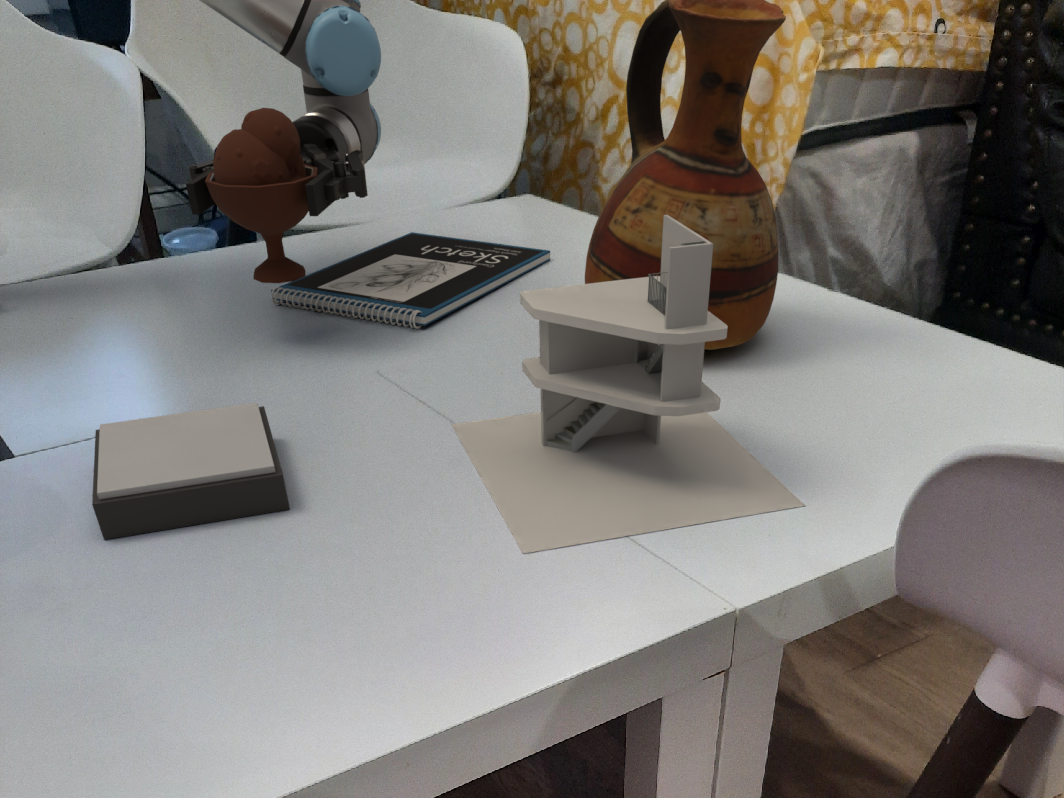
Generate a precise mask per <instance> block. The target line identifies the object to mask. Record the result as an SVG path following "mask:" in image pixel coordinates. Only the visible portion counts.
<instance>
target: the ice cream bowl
mask: <svg viewBox="0 0 1064 798" xmlns="http://www.w3.org/2000/svg"><path fill="white" fill-rule="evenodd" d="M292 122H293V121H292V120H291V119H290V118H289V117H288V116H287V115H286V114H285V113H283V112H282V111H280V110H277V109H275V108H271V107H260V108H258V109H254V110H251V111H249V112H247V113H246V114H245V116H244V117H243V121H242V123H241V127H240V128H239V129H237V128H236V129H232V130H231V131H230V132H228V133H226V134H224V135H223V137H222V138H221V139H220V141H219V142H218V144H217V145H216V147H215V148H214V152H213V159H212V160H213V168H214V171H213V172H210V173H209V174H208V176H207V178H206V180H205V182H206V185H207V187H208V190H209V192H210V195H211V197H212V199H213V200H214V202H215V203H216V204H215V205H216V207H217V208H218V210H219V211H220V212H221V213H223V215H225V216H226V217H227V218H228V219H230V220H231V221H232V222H233V223H234V224H236V225H238V226H240V227H241V228H243V229H245V230H247V231H251V232H254V233H256V234H260V236H261V237H262V239H263V240H264V243H265V246H266V253H267V258H265V260H263V261H262V262H261V263H260V264H259V265H258V266H256V267H255V268H254V271H253V278H252V280H254V281H257V282H259V283H262V284H283V283H284V284H285V283H289V282H291V281H295V280H298V279H300V278H302V277H304V276H306V275H307V274H306V272H307V271H306V269H305V267H304V265H303V264H301V263H299V262H297V261H295V260H293V259H291V258H290V257H287V256H286V253H285V249H284V243H283V238H284V233H286V232H287V231H289V230H290V229H293V228H295V227H296V226H298V225H299V223H300V222H302V221H303V220H304V219H305V218H306V216H307V215H308V214H309V208H308V202H307V195H306V188H305V185H306V184H307V183H309V182H310V181H311V180H312V179H314V178H315V177H317V167H313V166H309V165H305V164H304V162H303V159H302V157H301V155H300V138H299V135H298V132H297V129H296V127H295V126H294V124H293V123H292Z"/></svg>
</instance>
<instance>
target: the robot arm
mask: <svg viewBox="0 0 1064 798" xmlns="http://www.w3.org/2000/svg"><path fill="white" fill-rule="evenodd" d="M199 2H201V3H202V4H204V5H206V6H207V7H208V8H210V9H211V10H213V11H214V12H216V13H217V14H219V15H221V16H222V17H223V18H225V19H226V20H228V21H229V22H231V23H233V24H234V25H235V26H237V27H239V28H240V29H241V30H243V31H245V32H246V33H247V34H250V36H252V37H253V38H255V39H257V40H258V41H260V42H261V43H262V44H264V45H265V46H267V47H269V49H271V50H273V51H275V52H276V53H277V54H279V55H280V56H281V57H283V58H284V59H285V60H287V61H288V62H290V63H291V64H293V65H294V66H296V67H297V68H299V70H300V73H301V79H302V90H303V96H304V97H303V98H304V103H305V111H306V113H304V114H302V115H301V116H300V117H298V118H297V119H294V120H293V121H292V123H293V124H294V126H295V127H296V129H297V132H298V135H299V138H300V155H301V157H302V159H303V162H304V164H305V165H309V166H313V167H317V177H315V178H314V179H312V180H311V181H310V182H309V183H307V184H306V185H305V188H306V195H307V202H308V208H309V212H308V215H309V217H319V215H321V214H322V213H323V212H324V211H325V210H326V209H328V207H330V206H331V205H332V204H333V203H335V201H336V202H337V201H339V200H340V199H341V200H345V199H347V198H349V197H350V195H349V193H354V195H355V197H357V198H359V199H363V198H366V197H368V195H369V194H368V186H367V185H368V184H367V177H366V166H365V165H366V164H367V163H368V162H369V161H371V159H372V158H373V156H374V154H375V152H376V150H377V149H378V147H379V144H380V142H381V138H382V125H381V120H380V117H379V114H378V112H377V111H376V109H375V107H374V105H373V104H372V103H371V100H370V92H369V88H370V87H371V86H372V85H373V84H374V82H375V81H376V79H377V78H378V75H379V72H380V69H381V63H382V49H381V44H380V40H379V37H378V34H377V31H376V28H375V27H374V26H373V24H372V23H371V21H370V19H369V18H368V17H366V15H364V14H362V12H361V8H362V4H361V2H360V0H199ZM213 160H214V159H210V160H208V161H204V162H201V163H197V164H191V165H189V166H188V167H187V169H188V173H189V174H188V175H189V178H190V180H189V181H188V182H186V183H185V186H186V191H187V196H188V201H189V206H190V210H191V214H192V215H201V214H204V212H206V211H207V210H209V209H211V208H212V207H213V206H215V205H216V203H215V202H214V200H213V199H212V197H211V195H210V192H209V190H208V187H207V185H206V182H205V180H206V178H207V176H208V174H209V173H210V172H213V171H214V168H213Z"/></svg>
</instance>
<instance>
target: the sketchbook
mask: <svg viewBox="0 0 1064 798" xmlns="http://www.w3.org/2000/svg"><path fill="white" fill-rule="evenodd" d="M549 261H551V250H550V249H549V250H548V249H540V248H533V247H527V246H518V245H511V244H503V243H495V242H487V241H481V240H474V239H465V238H458V237H451V236H443V235H436V234H427V233H420V232H414V231H413V232H408V233H406V234H404V235H401V236H399V237H397V238H394V239H392V240H388V241H386V242H384V243H382V244H379V245H377V246H374V247H373V248H370V249H367V250H365V251H362V252H360V253H357V254H354V255H353V256H350V257H347V258H345V259H343V260H340V261H338V262H335V263H333V264H330V265H328V266H326V267H324V268H320V269H318V270H315V271H313V272H311V273H309V274H305V276H304V277H302V278H300V279H298V280H295V281H290V282H285V283H284V284H281V285H279V286H275V287H273V288H272V289H271V290H270V296H271V297H270V298H271V301H272V303H273V304H274V305H278V306H279V305H282V306H283V307H290V308H291V307H293V308H295V309H298V308H299V309H302V310H303V309H305V310H309V311H310V310H311V311H313V312H315V311H317V312H319V313H321V312H323V313H324V314H327V313H329V314H330V315H333V314H334V315H336V316H339V315H341V316H342V317H345V316H346V317H348V318H352V317H353V318H354V319H358V318H359V319H360V320H364V319H365V320H366V321H372V322H379V324H380V323H383V322H384V323H385V324H391V325H393V326H395V325H397V326H399V327H401V326H402V325H403V327H405V328H408V327H410V329H415V330H419V329H420V328H422V327H426V326H428V325H430V324H431V323H433V322H435V321H436V320H439V319H441V318H443V317H445V316H447V315H449V314H451V313H452V312H454V311H456V310H459V309H460V308H461V307H464V306H465V305H467V304H470V303H472V302H473V301H475V300H478V299H479V298H480V297H482V296H484V295H486V294H488V293H490V292H492V291H494V290H495V289H498V288H499V287H502V286H503V285H505V284H507V283H509V282H511V281H513V280H515V279H517V278H519V277H520V276H522V275H524V274H527V273H528V272H530V271H532V270H533V269H535V268H537V267H539V266H541V265H543V264H545V263H547V262H549Z"/></svg>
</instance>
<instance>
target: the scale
mask: <svg viewBox="0 0 1064 798" xmlns="http://www.w3.org/2000/svg"><path fill="white" fill-rule="evenodd" d="M94 435H95V437H94V459H93V477H92V478H93V480H92V481H93V482H92V497H91V498H92V499H91V500H92V501H91V503H92V504H91V505H92V509H93V511H94V514H95V517H96V521H97V523H98V526H99V530H100V532H101V535H102V538H103V540H104V541H106V540H112V539H118V538H119V539H120V538H124V537H130V536H136V535H143V534H148V533H149V534H150V533H155V532H161V531H168V530H173V529H179V528H184V527H191V526H196V525H198V526H199V525H204V524H209V523H215V522H223V521H228V520H235V519H241V518H246V517H252V516H258V515H265V514H269V513H270V514H271V513H276V512H284V511H289V510H290V509H291V507H290V502H289V497H288V493H287V487H286V482H285V478H284V473H283V470H282V466H281V462H280V458H279V455H278V451H277V448H276V444H275V441H274V437H273V434H272V430H271V426H270V422H269V419H268V416H267V412H266V407H265V406H264V405H263V406H259V404H258V402H251V403H245V404H237V405H232V406H231V405H230V406H223V407H222V406H221V407H216V408H209V409H202V410H195V411H188V412H186V411H185V412H180V413H173V414H166V415H165V414H164V415H158V416H152V417H145V418H136V419H131V420H130V419H129V420H121V421H115V422H109V423H108V422H107V423H101V424H99V429H95V434H94Z"/></svg>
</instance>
